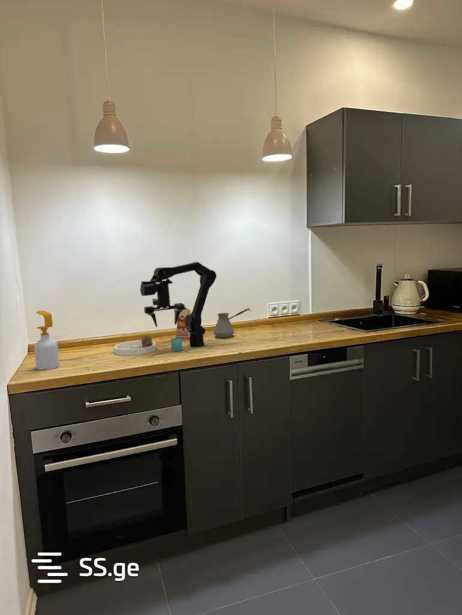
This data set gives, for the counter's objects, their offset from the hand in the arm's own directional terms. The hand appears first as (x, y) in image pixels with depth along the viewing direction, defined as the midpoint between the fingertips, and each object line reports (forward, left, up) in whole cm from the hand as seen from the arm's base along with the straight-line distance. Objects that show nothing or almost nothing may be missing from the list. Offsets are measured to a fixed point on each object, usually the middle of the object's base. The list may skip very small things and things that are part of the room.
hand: (166, 325), depth 195 cm
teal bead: (-5, +2, -12) cm, 13 cm away
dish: (+16, -2, -12) cm, 20 cm away
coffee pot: (-32, -28, -12) cm, 45 cm away
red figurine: (-6, -24, -12) cm, 28 cm away
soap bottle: (+48, +23, -12) cm, 55 cm away
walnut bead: (+10, -2, -11) cm, 16 cm away
